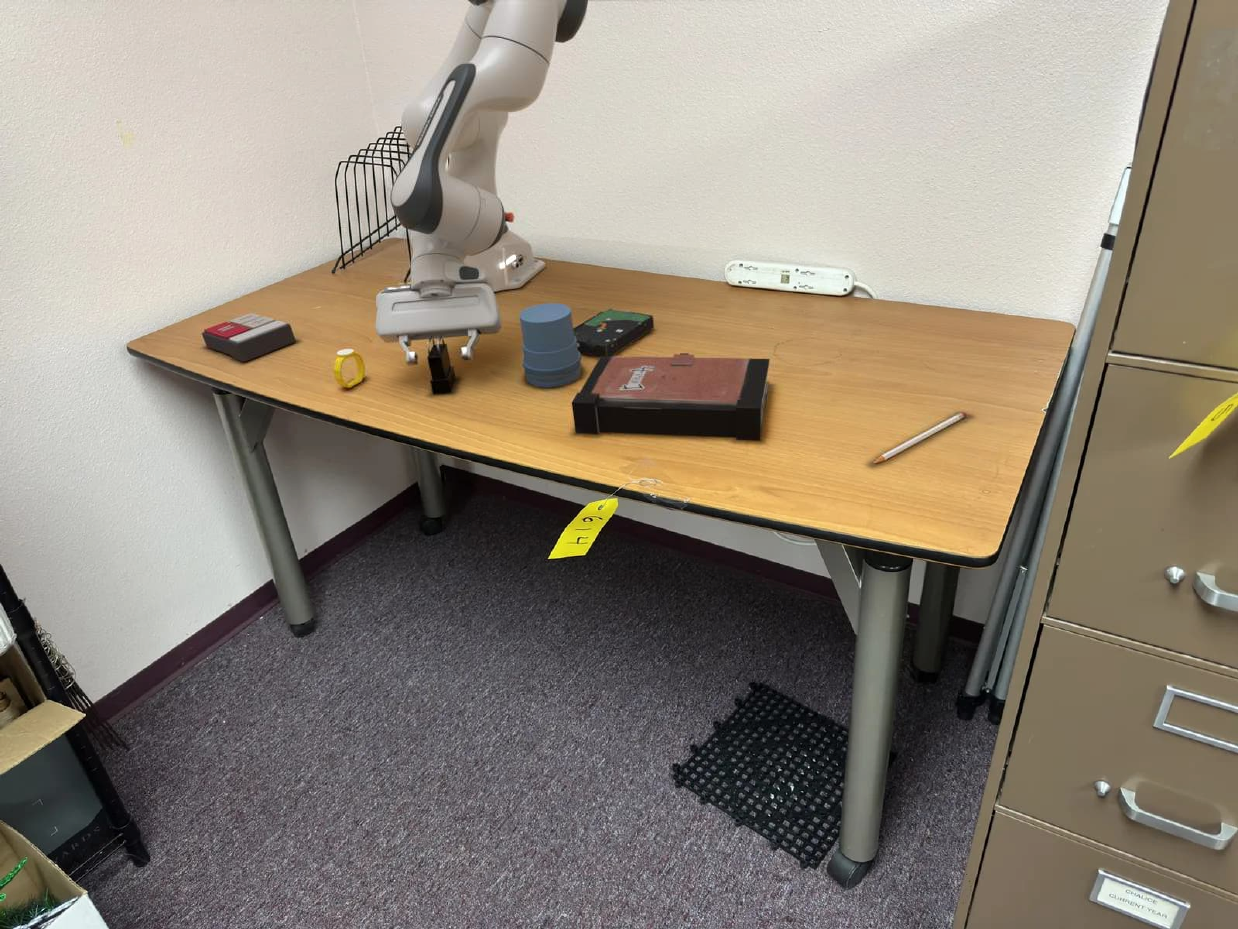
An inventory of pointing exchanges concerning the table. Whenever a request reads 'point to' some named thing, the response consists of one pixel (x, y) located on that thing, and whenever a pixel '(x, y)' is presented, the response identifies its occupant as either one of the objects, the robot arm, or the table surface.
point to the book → (674, 397)
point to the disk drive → (611, 332)
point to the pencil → (920, 437)
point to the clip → (440, 367)
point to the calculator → (248, 336)
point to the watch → (338, 365)
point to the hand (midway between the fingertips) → (439, 361)
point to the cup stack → (549, 345)
